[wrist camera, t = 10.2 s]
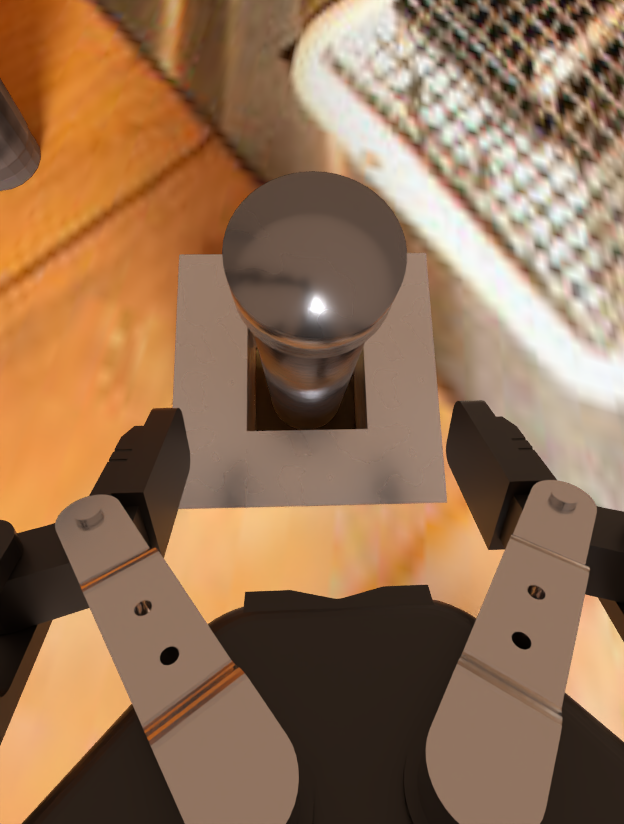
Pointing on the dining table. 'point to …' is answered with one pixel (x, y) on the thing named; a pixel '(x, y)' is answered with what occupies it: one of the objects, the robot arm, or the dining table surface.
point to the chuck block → (305, 449)
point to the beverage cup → (15, 144)
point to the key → (312, 284)
